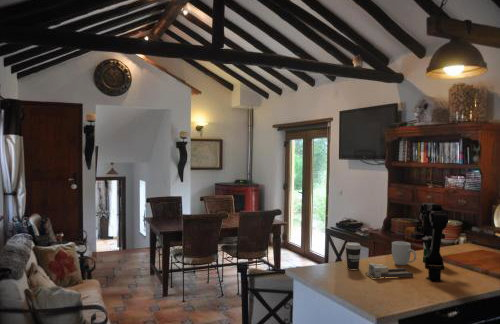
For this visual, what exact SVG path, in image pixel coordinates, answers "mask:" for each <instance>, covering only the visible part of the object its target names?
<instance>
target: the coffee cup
mask: <svg viewBox="0 0 500 324" xmlns="http://www.w3.org/2000/svg"><path fill="white" fill-rule="evenodd" d="M344 248H345V256H346V267H347V268H346V269H348V268H349V269H358V270H359V268H360V260H361V259H360V258H361V249H362V246H361V243H359V242H352V241H351V242H350V241H349V242H346V243H345V245H344ZM349 269H348V270H349Z"/></svg>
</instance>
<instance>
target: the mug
mask: <svg viewBox="0 0 500 324" xmlns="http://www.w3.org/2000/svg"><path fill="white" fill-rule="evenodd" d="M411 246H412V244H411V243H410V242H406V241H401V240H400V241H399V240H398V241H397V240H396V241H391V255H392V259H393V262H394V263H395V265H397V266H407V265H408V264H411V263H414V262H415V261H416V260H417V253H416V251H415V250H414V249H412V248H411ZM411 252H412V254H413V255H414V256H413V257H414V258H413V260H410V259H411Z"/></svg>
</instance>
